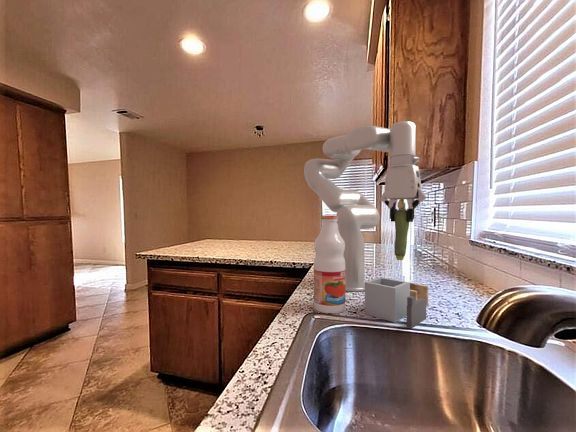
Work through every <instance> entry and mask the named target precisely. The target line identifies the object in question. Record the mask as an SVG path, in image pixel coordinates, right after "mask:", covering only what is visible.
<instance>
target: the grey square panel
mask: <svg viewBox="0 0 576 432" xmlns="http://www.w3.org/2000/svg"><path fill="white" fill-rule="evenodd" d="M426 319H427V306H426V298H420V299H418V300H416V301H415V297H413V296H409V297H407V316H406V328H409V329H413V328H414V327H416V326H418V325H419V324H420V323H421V322H423V321H425V320H426Z"/></svg>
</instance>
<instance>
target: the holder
mask: <svg viewBox="0 0 576 432" xmlns="http://www.w3.org/2000/svg"><path fill="white" fill-rule="evenodd" d="M410 296H413V297H415V301H416V300H418V299H420V298H426V307H428V306H429V285H425V284H419V283H414V282H410Z"/></svg>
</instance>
